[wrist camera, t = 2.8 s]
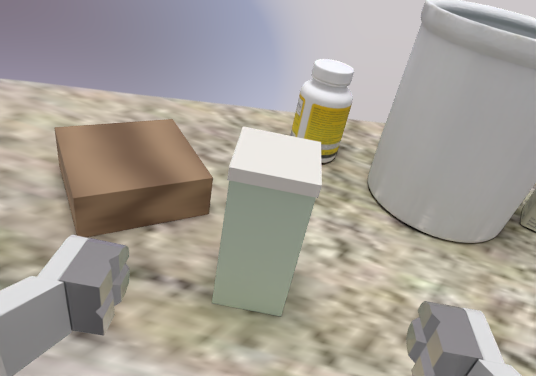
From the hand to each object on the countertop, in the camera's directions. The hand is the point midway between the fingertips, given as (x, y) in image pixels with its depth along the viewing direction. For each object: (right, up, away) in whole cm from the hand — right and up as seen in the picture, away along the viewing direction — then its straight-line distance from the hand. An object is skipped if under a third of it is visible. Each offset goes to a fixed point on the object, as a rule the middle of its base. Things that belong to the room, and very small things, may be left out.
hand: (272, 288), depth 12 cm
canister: (-1, -4, +18) cm, 18 cm away
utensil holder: (+17, +2, +31) cm, 36 cm away
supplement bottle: (+5, +7, +35) cm, 36 cm away
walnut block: (-12, +2, +24) cm, 27 cm away
